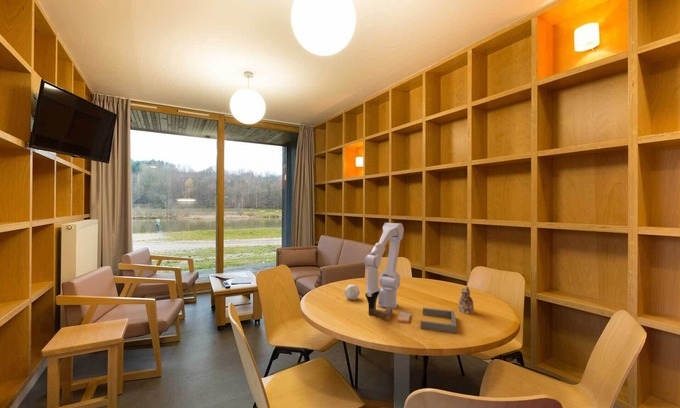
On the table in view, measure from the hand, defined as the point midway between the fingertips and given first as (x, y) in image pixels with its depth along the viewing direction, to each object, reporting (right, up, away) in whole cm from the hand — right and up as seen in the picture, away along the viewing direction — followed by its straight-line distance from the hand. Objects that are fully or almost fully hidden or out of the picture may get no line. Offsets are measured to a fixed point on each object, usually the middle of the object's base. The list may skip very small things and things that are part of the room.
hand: (372, 307), depth 144 cm
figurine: (+48, -4, +5) cm, 48 cm away
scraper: (+3, -3, -1) cm, 5 cm away
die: (-9, -4, +24) cm, 26 cm away
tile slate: (+15, -4, -2) cm, 16 cm away
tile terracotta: (+14, -4, -7) cm, 16 cm away
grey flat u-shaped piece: (+28, -4, -9) cm, 30 cm away
